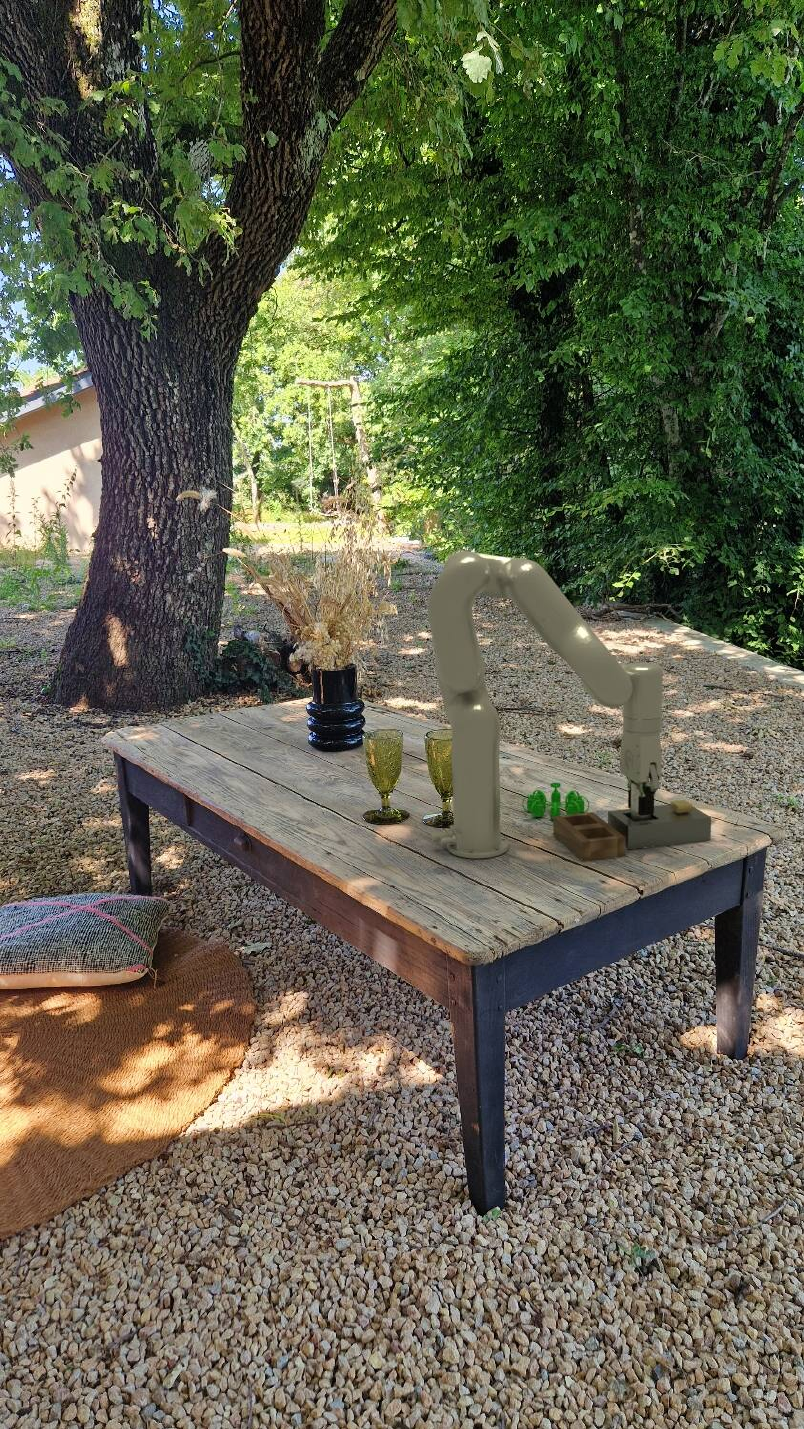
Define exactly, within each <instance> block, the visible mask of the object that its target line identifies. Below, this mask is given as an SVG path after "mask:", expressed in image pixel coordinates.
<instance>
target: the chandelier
mask: <svg viewBox="0 0 804 1429" xmlns="http://www.w3.org/2000/svg"><path fill="white" fill-rule="evenodd" d="M561 784H562V783H560V782H551V783H550V787H551V788H554V789H553V791H551V795H550V797H551V798H550V801H547V796H546V794H545V792H543V791H542V790H541V789H535V790H534V791H533V792H532V794H528V795H526V796H525V797H524V798H523V799H522V805H521V806H522V808H523V809H524V811H525V812H527V813H530V816H531V817H532V818H534V819H537V818H542V817H543V816H545V813H546V810H547V808H550V809H549V810H550V811H549V814H550V816H549V818H550V819H551V820H553V816H561V808H563V809H564V810H565V815H572V814H581V813H588V810H589V808H590V802H589V799H588V798H586V796H584V795H580V793H579V792H578V791H576V790H573V789H572V790H570V791H569V792H568V793H567V794H566V796H565V798H564V801H562V799H561V798H562V797H561V792H560V791H559V790H558V788H561ZM528 797H529V798H528ZM526 799H527V800H526ZM525 800H526V808H525V806H524V801H525ZM584 800H586V802H587V805H588V806H587V809H586V810H585V801H584ZM561 801H562V802H561ZM546 805H547V806H546ZM560 807H561V808H560Z"/></svg>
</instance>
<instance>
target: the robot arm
mask: <svg viewBox="0 0 804 1429" xmlns="http://www.w3.org/2000/svg"><path fill="white" fill-rule="evenodd" d="M429 594H430V595H429V598H428V604H427V614H428V621H429V625H430V626H429V627H430V631H431V637H432V641H433V646H434V649H435V650H434V651H435V654H436V655H435V657H434V668H435V673H436V677H437V678H436V679H437V681H438V685H439V689H440V693H441V697H442V702H443V705H444V709H445V712H446V716H447V717H446V718H447V720H448V722H449V725H450V728H451V729H450V730H451V775H452V800H453V801H452V802H453V803H452V804H453V805H452V807H453V824H450V826H449V827H450V829H445V830H446V831H437V832H436V831H434V832H431V834H430V836H431V842H432V843H436V842H439V843H440V845H446V848H447V851H448V852H449V853H450V854H452V855H454V856H457V857H460V858H465V859H489V858H495V857H498V856H500V855H503V854H504V853H506V852H507V851H508V849H509V847H510V846H509V841H508V839H506V837H504V836H502V835H501V834H502V832H501V830H502V829H501V789H500V788H501V786H500V785H501V781H500V778H501V777H500V775H501V774H500V748H501V747H500V744H501V729H502V728H501V720H500V716H499V713H498V711H497V709H496V708H495V705H494V704H493V703H492V702H491V701H490V697H489V693H488V692H489V691H488V688H487V683H486V680H485V673H486V665H485V664H486V663H485V661H484V658H483V655H482V652H481V647H480V645H479V644H480V643H479V640H478V636H477V632H476V627H475V621H474V616H473V607H474V603H475V601H476V599H477V597H478V596H481V597H488V598H496V599H507V600H511V601H512V602H513V604H514V605H515V606H516V607H517V609H518V610H519V611H520V613H521V614H522V615H523V616H524V618H525V619H526V620H527V621H528V622H529V625H531V626H532V628H533V629H534V630H535V632H536V633H537V634H538V635H539V637H540V638H541V639H542V640H543V641H544V643H545V644H546V645H547V646H548V647H549V648H550V649H551V650H552V652H554V653H555V654H556V655H557V656H559V657H560V658H562V660H564V661H565V662H566V663H567V665H569V666H570V667H571V669H572V670H573V672H575V673H576V675H577V676H578V677H579V678H580V679H581V684H582V688H583V689H584V691H585V692H586V693H587V694H588V696H590V697H591V698H592V699H593V700H595V701H596V702H597V703H599V704H600V705H602V706H603V707H606V708H608V709H616V708H617V709H618V708H620V707H622V706H623V707H622V708H623V712H622V713H623V714H622V718H623V720H622V734H621V735H622V736H621V742H620V754H619V758H620V759H619V771H620V773H621V774H622V775H623V776H625V777H626V779H627V785H626V786H627V789H628V790H627V792H628V793H627V808H628V809H631V783H632V782H636V783H638V784H640V795H641V796H638V814H639V815H640V816H643V815H652V814H654V806H655V797H656V793H657V791H658V790H660V788H661V785H660V781H661V778H662V746H661V745H662V744H661V743H662V742H661V735H660V734H661V733H662V727H663V726H662V721H663V720H662V719H663V718H662V717H663V684H664V683H663V681H664V680H663V677H664V676H663V673H664V672H663V669H662V667H661V666H660V665H659V664H657V663H653V662H633V663H630V664H627V663H626V664H625V663H624V664H622V663H619V661H618V660H617V659H616V658H615V656H614V655H613V654H612V652H611V651H610V650H609V649H608V648H607V646H606V645H605V644H604V643H603V642H602V640H601V639H600V638H599V637H598V636H597V635H596V633H595V632H594V631H593V629H592V628H591V626H590V625H589V624H588V623H587V622H586V620H585V619H584V618H583V617H582V616H581V614H580V613H579V612H578V611H577V609H576V608H575V607H574V606H573V605H572V603H571V602H570V601H569V599H568V598H567V597H566V596H565V594H564V592H563V591H561V588H559V586H558V585H557V584H556V583H555V581H554V580H553V579H552V577H550V575H549V574H548V572H547V571H546V570H545V568H543V567H542V566H541V564H539V563H537V562H536V561H534V560H530V559H526V558H521V557H508V556H501V555H500V556H499V555H494V554H486V553H481V552H474V551H468V550H461V551H458V552H454V553H452V554H451V555H450V556H448V558H447V560H446V561H445V562H444V565H443V568H442V572H441V573H440V574H439V576H438V577H437V579H436V580H435V581H434V583H433V586H432V588H431V590H430V593H429ZM647 779H649V780H647ZM647 784H650V785H649V786H647V787H646V789H645V785H647Z"/></svg>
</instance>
